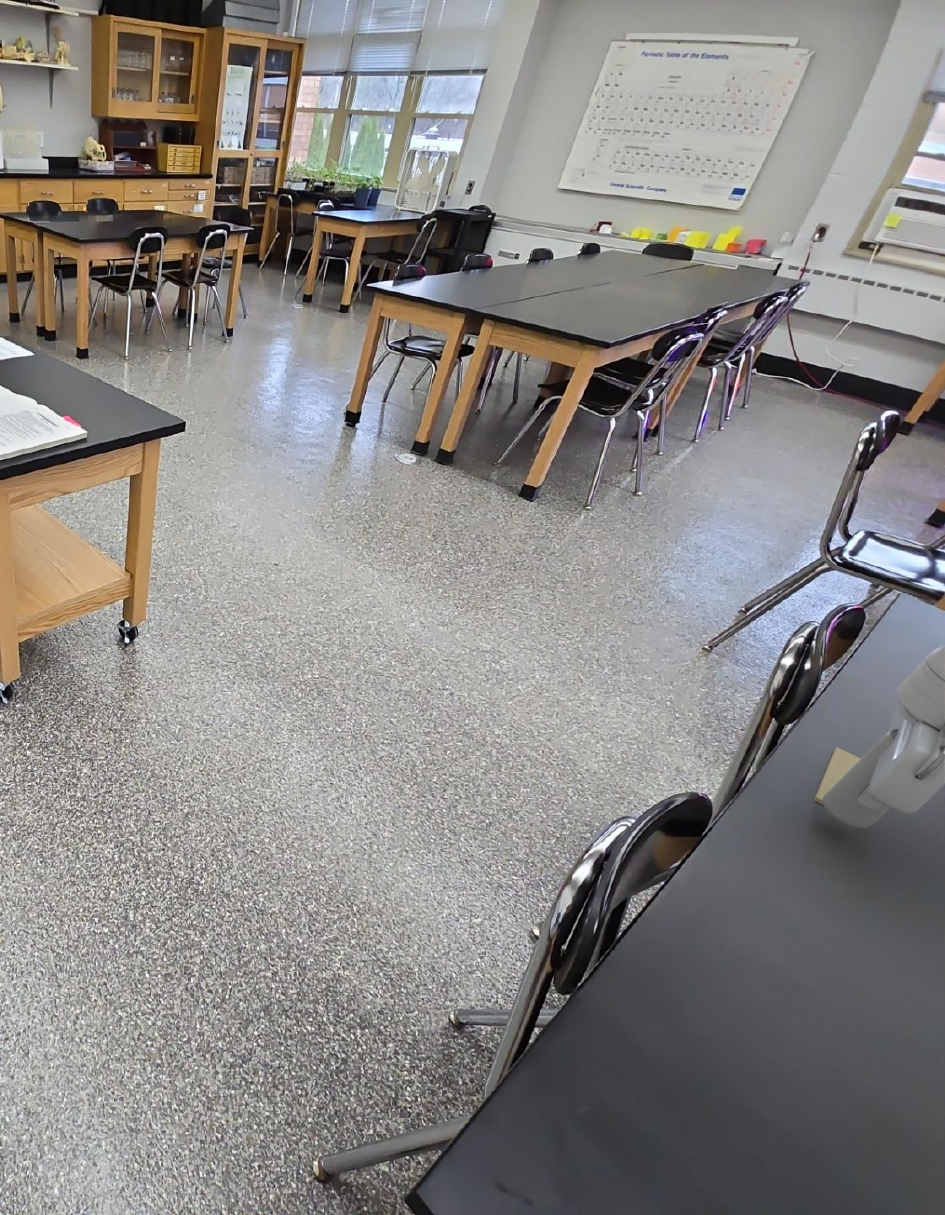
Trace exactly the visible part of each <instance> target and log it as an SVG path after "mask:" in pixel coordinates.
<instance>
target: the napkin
mask: <svg viewBox="0 0 945 1215" xmlns="http://www.w3.org/2000/svg"><path fill="white" fill-rule="evenodd" d="M861 758H862V757H859V756H857V755H854V754H852V753H851V752H848V751H846V750H844V749H841V748H840V747H836V748H835V749H834V751H833V753H832V755H831V758H830V760H829V763H828V765H827V767H826V770H825V772H824V775H823V777H822V779H821V782H820V784H819V787H818V789H817V791H816V794H815V797H814V799H813V800H814V802H816V803H818V804H820V805H821V806H824V804H823V796H824V795H825V794H826V793H827V792H828V791H829V790H830V789H831V788H832V787H833V786H834V785H835V784H836V783H837V782H838V781H839V780H840V779H841V778H842V777H843V776H844V775H845V774H846V773H847V772H848V771H849V770H850V769H851V768H852V767H853V766H854V765H855V764H856V763H857V762H858V761H859V760H860V759H861Z"/></svg>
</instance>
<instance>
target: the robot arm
mask: <svg viewBox="0 0 945 1215" xmlns="http://www.w3.org/2000/svg"><path fill="white" fill-rule="evenodd" d="M895 694H896V697H897V699H898V701H899V703H898V704H897V706H896V708H895V709H894V712H893V714H892V717H891V720H890V724H889V726H888V728H887V732H886V733H889V732H890V731H891V730H893V729H897V728H898V730H897V732H896V736H895V739H894V740H895V741H894V742H892V743H891V745H890V746H889V747H888V748H887V749H886V750H885V751H884V752H883V753H882V754H881V755H880V757H879V758H878V761H877V764H876V767H875V770H874V773H873V776H872V779H871V782H870V785H867V786H866V787H865V788H864V789H863V790H862V791H861V792H860V794H859V796H858V799H857V801H858V802H859V803H860V804H862V805H864V806H866V807H868V808H870V809H872V810H876V809H878V808H880V807H881V806H882V805H884V806H886V807H888V808H890V810H893V811H895V812H897V813H899V814H902V815H911V814H914V813H916V812H918V811H919V810H920V809H921V808H922V807H923V806H924V805H925V804H926V803H927V802H928V801H929V800H931V798H932V797H933V796H935V795H936V794H937V792H938V791H940V789H941V788H942V787H943V786H945V643H944V644H942V645H940V646H939V647H937V648H935V649H934V650H932V651H931V652H930V653H928V655H927V656H926V657H925V658H924V659H923V660H922V661H921V662H920V663H919V664H918V665H917V666H916V667H915V668H914V669H913V670H912V671H911V672H910V673H909V675H908V676H907V677H906V678H904V680H903V681H902V682H901V683H900V684H899V685H898V686H897V687H896V690H895ZM915 775H916V776H917V778H916V777H915Z"/></svg>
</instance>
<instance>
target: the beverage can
mask: <svg viewBox="0 0 945 1215" xmlns="http://www.w3.org/2000/svg"><path fill="white" fill-rule="evenodd" d="M897 730H898V728H897V729H893V730H891V731H890V732H889V733H887V732H886V733H885V734H883V736H882V737H881V738H880V739H879V740H878V741H877V742H876V743H875V744H874V745H873V746H872V747H871V748H869V750H868V751H867V752H866V753H865V754H864V755H863V756H862V757H860V758H861V759H860V760H859V761H858V762H857V763H856V764H855V765H854V766H853V767H852V768H851V769H850V770H849V771H848V772H847V773H846V774H845V775H844V776H843V777H842V778H841V779H840V780H839V781H838V782H837V783H836V784H835V785H834V786H833V787H832V788H831V789H830V790H829V791H828V792H827V793H826V794H825V795H824V796H823V804H824V805H823V807H824V809H825V811H826V812H827V813H828V814H829V815H830V816H831V817H832V818H834V819H835V820H837V821H838V822H840V823H842V824H844V825H846V826H849V827H853V828H857V829H858V828H859V829H867V828H870V827H872V826H873V825H874V824H876V823H877V822H878V821H879V820H880V819H881V818H882V817H883V816H884V815H885V814H887V813H888V812H889V811H891V809H890V808H888V807H886V806H884V805H882V806H881V807H880V808H878V809H876V810H872V809H870V808H868V807H866V806H864V805H862V804H860V803H859V802H858V801H857V799H858V796H859V794H860V792H861V791H862V790H863V789H864V788H865V787H866V786H867V785H870V782H871V779H872V776H873V773H874V770H875V767H876V764H877V761H878V758H879V757H880V755H881V754H882V753H883V752H884V751H885V750H886V749H887V748H888V747H889V746H890V745H891V743H892V742H894V741H895V740H894V739H895V736H896V732H897ZM915 777H916V778H917V776H916V775H915Z"/></svg>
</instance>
